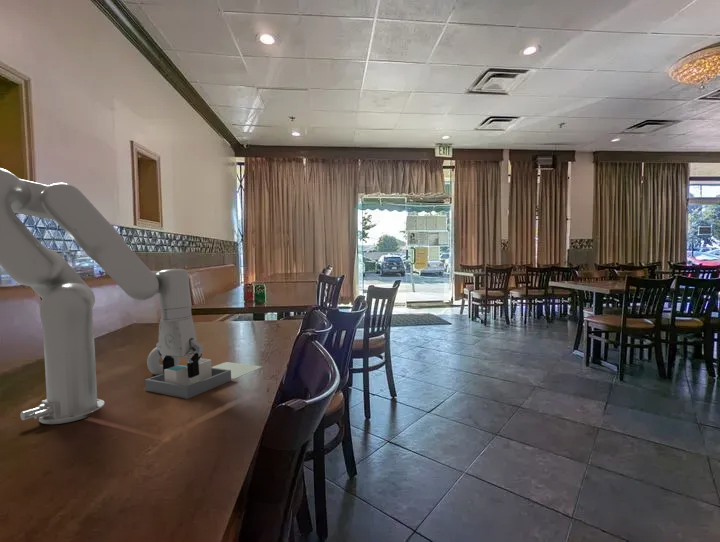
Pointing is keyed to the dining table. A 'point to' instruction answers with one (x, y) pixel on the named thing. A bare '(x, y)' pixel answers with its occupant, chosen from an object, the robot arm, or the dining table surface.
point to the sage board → (237, 368)
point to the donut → (157, 362)
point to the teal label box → (177, 375)
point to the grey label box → (203, 370)
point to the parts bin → (183, 391)
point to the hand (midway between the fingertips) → (181, 374)
